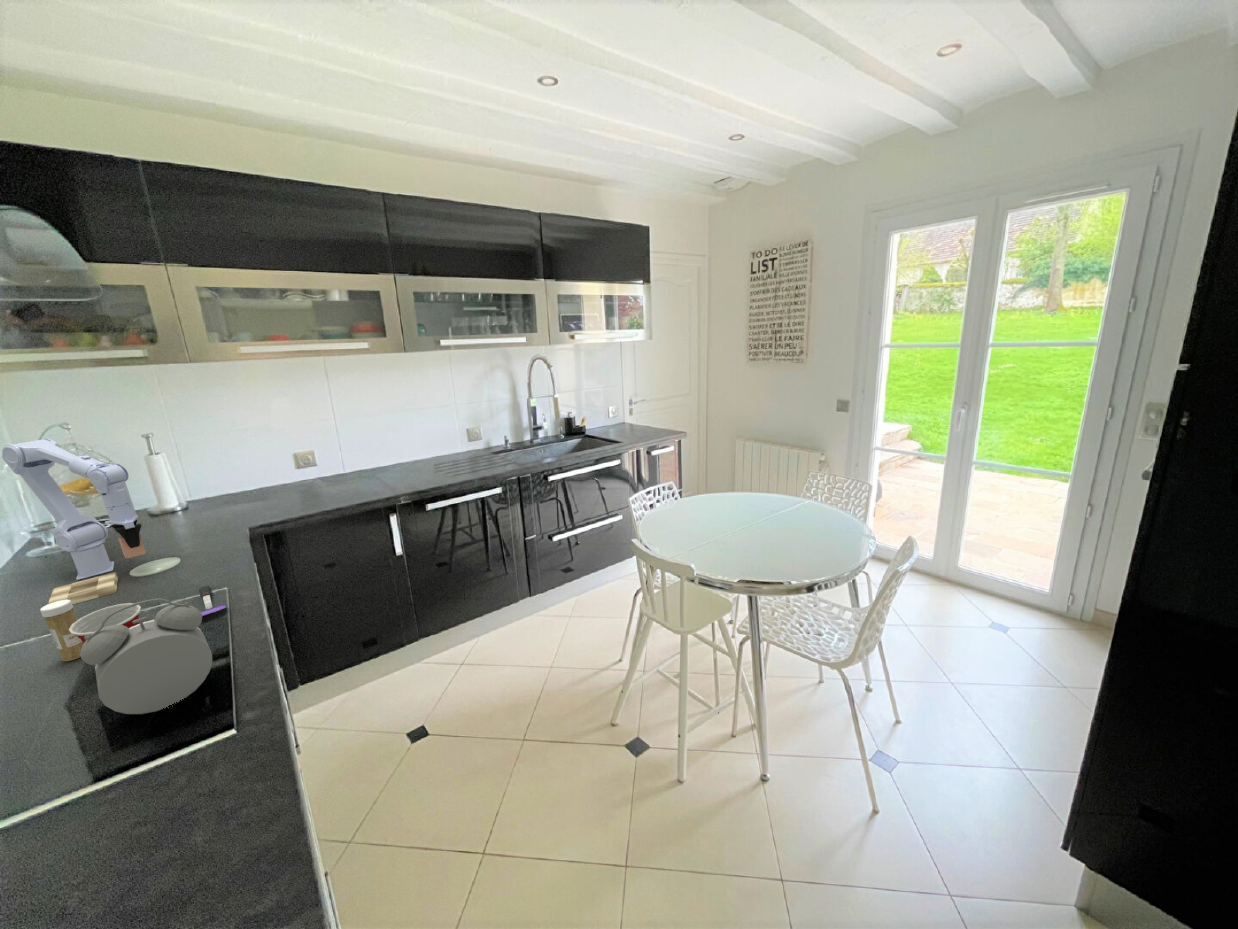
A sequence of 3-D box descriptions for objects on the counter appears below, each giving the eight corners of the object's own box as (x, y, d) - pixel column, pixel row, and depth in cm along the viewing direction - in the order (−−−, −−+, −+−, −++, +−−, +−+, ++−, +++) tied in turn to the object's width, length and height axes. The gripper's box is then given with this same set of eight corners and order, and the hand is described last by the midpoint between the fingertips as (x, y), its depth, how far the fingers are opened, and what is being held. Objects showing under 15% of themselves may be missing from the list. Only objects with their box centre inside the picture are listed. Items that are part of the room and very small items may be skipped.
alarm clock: (218, 670, 101) (189, 578, 95) (227, 688, 95) (196, 591, 89) (108, 717, 89) (67, 615, 83) (111, 741, 83) (66, 633, 78)
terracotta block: (123, 555, 147) (117, 537, 146) (143, 550, 151) (137, 532, 149) (126, 558, 145) (120, 540, 143) (146, 553, 148) (140, 535, 147)
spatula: (190, 594, 135) (188, 586, 135) (220, 585, 140) (218, 577, 139) (194, 627, 118) (192, 618, 118) (229, 615, 123) (226, 607, 122)
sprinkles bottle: (86, 657, 108) (65, 605, 104) (58, 665, 106) (35, 612, 102) (94, 646, 112) (73, 596, 108) (66, 654, 109) (44, 603, 106)
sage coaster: (130, 568, 153) (130, 567, 153) (179, 555, 161) (179, 554, 161) (129, 580, 145) (129, 578, 144) (181, 566, 153) (181, 564, 152)
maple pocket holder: (56, 594, 138) (54, 588, 137) (117, 578, 146) (115, 572, 146) (50, 610, 129) (47, 603, 129) (116, 592, 138) (113, 585, 137)
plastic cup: (86, 688, 97) (66, 638, 94) (89, 665, 105) (69, 618, 102) (158, 661, 105) (141, 614, 102) (155, 641, 112) (139, 597, 109)
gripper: (96, 504, 145) (111, 545, 148) (104, 512, 136) (119, 555, 140) (128, 497, 150) (141, 537, 154) (137, 505, 142) (151, 546, 145)
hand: (133, 545), depth 147 cm, fingers closed on terracotta block, 4 cm apart
